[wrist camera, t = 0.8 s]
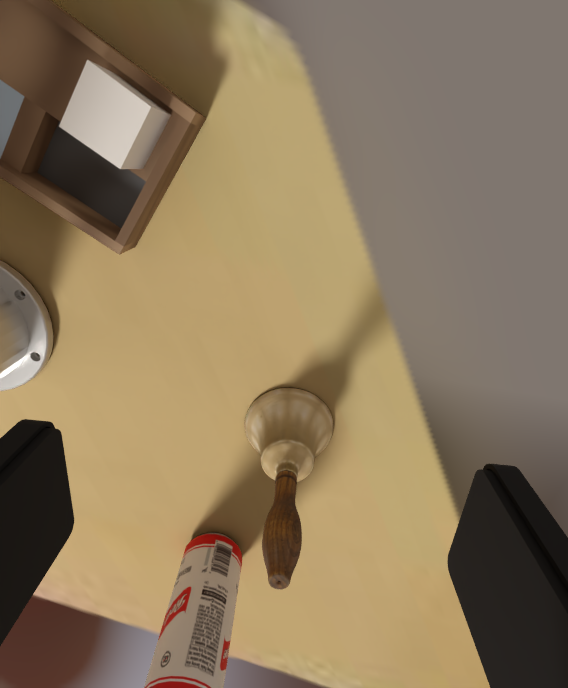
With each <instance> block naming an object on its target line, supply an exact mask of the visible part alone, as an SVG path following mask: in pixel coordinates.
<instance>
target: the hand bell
mask: <svg viewBox="0 0 568 688" xmlns="http://www.w3.org/2000/svg"><path fill="white" fill-rule="evenodd" d="M245 432H246V436H247V438H248V440H249V442H250V444H251V445H252V446H253V448H254V449H255V450H256V451H257V452H258V453H259V454H261V465H262V468H263V470H264V472H265V473H266V474H267V475H268V476H269V477H270V478H272V479H273V480H275V484H276V485H275V499H274V503H273V506H272V508H271V510H270V512H269V514H268V516H267V519H266V522H265V526H264V531H263V539H262V550H263V556H264V561H265V565H266V568H267V573H268V581H269V584H270V586H271V587H273V588H275V589H284V588H286V587H288V585H289V584H290V580H291V576H292V573H293V571H294V568H295V566H296V564H297V561H298V558H299V555H300V550H301V542H302V532H301V522H300V518H299V515H298V512H297V509H296V506H295V495H296V484H297V482H299V481H301V480H303V479H304V478H306V477H307V476H308V475H309V474H310V473H311V471H312V469H313V466H314V460H315V457H316V456H317V455H318V454H320V453H321V452H322V451H323V450H324V449H325V447H326V446H327V445H328V443H329V441H330V439H331V437H332V433H333V419H332V415H331V413H330V411H329V409H328V407H327V406H326V405H325V404H324V402H323V401H321V400H320V399H319V398H318V397H317V396H315V395H313V394H312V393H310V392H307V391H304V390H301V389H295V388H280V389H276V390H272V391H269V392H267V393H265V394H263V395H262V396H260V397H259V398H258V399H256V400H255V401H254V402H253V403H252V405H251V406H250V408H249V409H248V411H247V414H246V417H245Z"/></svg>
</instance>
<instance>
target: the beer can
mask: <svg viewBox="0 0 568 688" xmlns="http://www.w3.org/2000/svg"><path fill="white" fill-rule="evenodd" d="M241 566H242V554H241V551H240V549H239V547H238V545H237V544H236V543H235V542H234V541H233V540H232V539H230V538H229V537H227V536H225V535H223V534H220V533H206V534H203V535H200V536H198V537H196V538H194V539H192V540H191V541H190V543H189V544H188V545H187V546H186V549H185V552H184V555H183V559H182V562H181V565H180V569H179V572H178V575H177V579H176V582H175V585H174V589H173V592H172V595H171V599H170V602H169V606H168V609H167V612H166V616H165V619H164V622H163V626H162V629H161V632H160V636H159V639H158V643H157V646H156V649H155V652H154V656H153V659H152V663H151V666H150V669H149V673H148V676H147V679H146V683H145V686H144V688H223V686H224V680H225V673H226V666H227V659H228V653H229V646H230V639H231V633H232V626H233V619H234V613H235V606H236V599H237V593H238V586H239V579H240V572H241Z"/></svg>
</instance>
